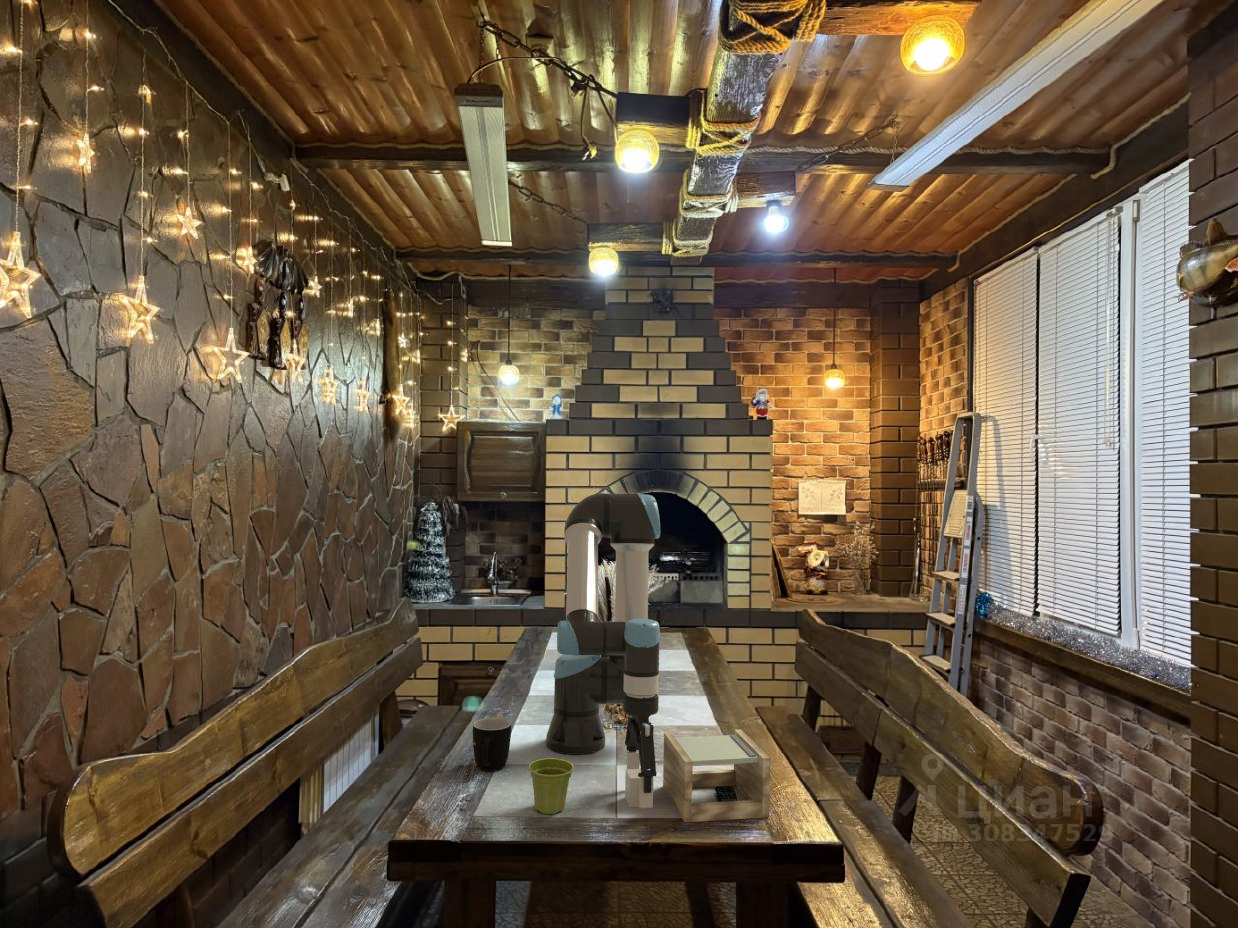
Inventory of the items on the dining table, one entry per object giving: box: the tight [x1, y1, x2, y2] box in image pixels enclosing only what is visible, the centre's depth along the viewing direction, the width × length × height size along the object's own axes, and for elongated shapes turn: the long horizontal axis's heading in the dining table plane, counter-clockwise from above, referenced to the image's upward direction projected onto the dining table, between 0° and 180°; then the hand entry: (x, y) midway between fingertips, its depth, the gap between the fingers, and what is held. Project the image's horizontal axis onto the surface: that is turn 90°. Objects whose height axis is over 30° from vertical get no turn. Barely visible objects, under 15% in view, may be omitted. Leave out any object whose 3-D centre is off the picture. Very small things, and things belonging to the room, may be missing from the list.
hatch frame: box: [662, 728, 771, 823], centre depth 165 cm, size 18×18×12 cm
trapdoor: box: [675, 733, 758, 767], centre depth 166 cm, size 14×14×1 cm
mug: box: [472, 717, 512, 773], centre depth 181 cm, size 12×9×10 cm
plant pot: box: [528, 757, 575, 815], centre depth 160 cm, size 9×9×9 cm
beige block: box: [624, 768, 650, 808], centre depth 165 cm, size 5×5×6 cm
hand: (639, 794), depth 164 cm, fingers open, 13 cm apart
